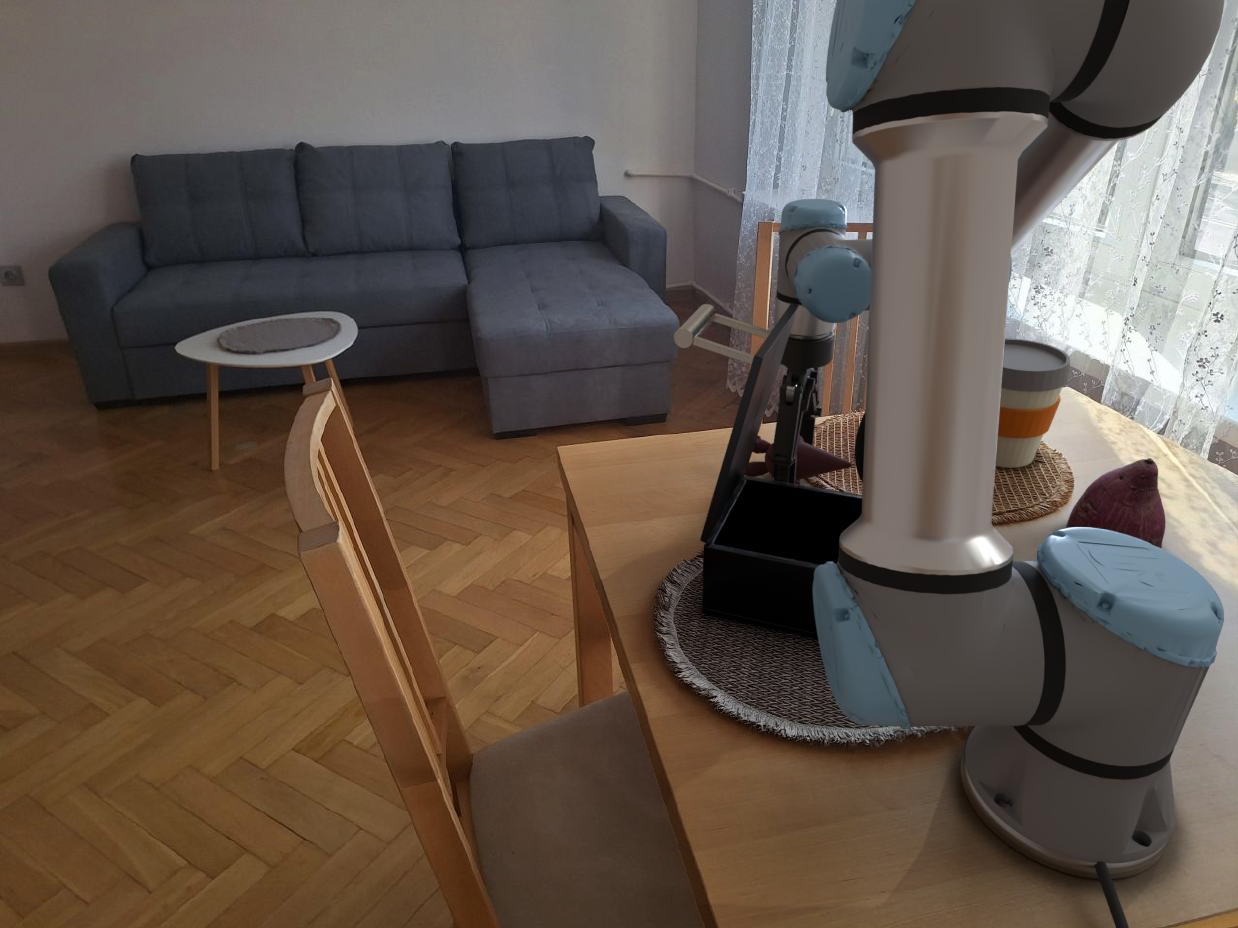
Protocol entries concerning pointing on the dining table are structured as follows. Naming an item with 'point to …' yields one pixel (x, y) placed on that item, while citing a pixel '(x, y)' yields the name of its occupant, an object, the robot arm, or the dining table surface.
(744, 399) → the lid
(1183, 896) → the dining table surface
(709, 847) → the dining table surface
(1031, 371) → the reusable coffee cup
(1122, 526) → the vegetable
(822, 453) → the icecream
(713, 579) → the black open box
